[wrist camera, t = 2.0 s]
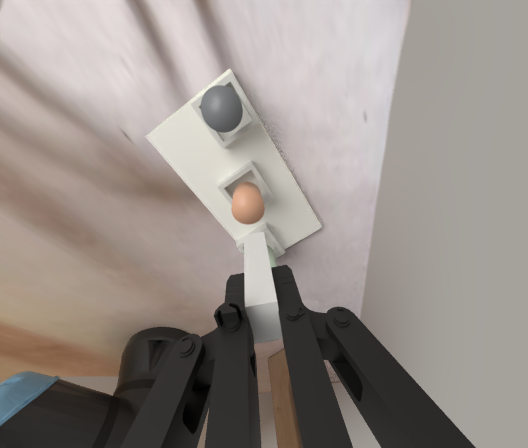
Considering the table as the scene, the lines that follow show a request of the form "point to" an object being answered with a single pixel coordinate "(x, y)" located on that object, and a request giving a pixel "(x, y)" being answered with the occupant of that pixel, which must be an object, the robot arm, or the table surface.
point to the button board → (235, 170)
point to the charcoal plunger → (221, 108)
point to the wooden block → (283, 403)
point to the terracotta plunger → (247, 203)
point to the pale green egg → (271, 257)
